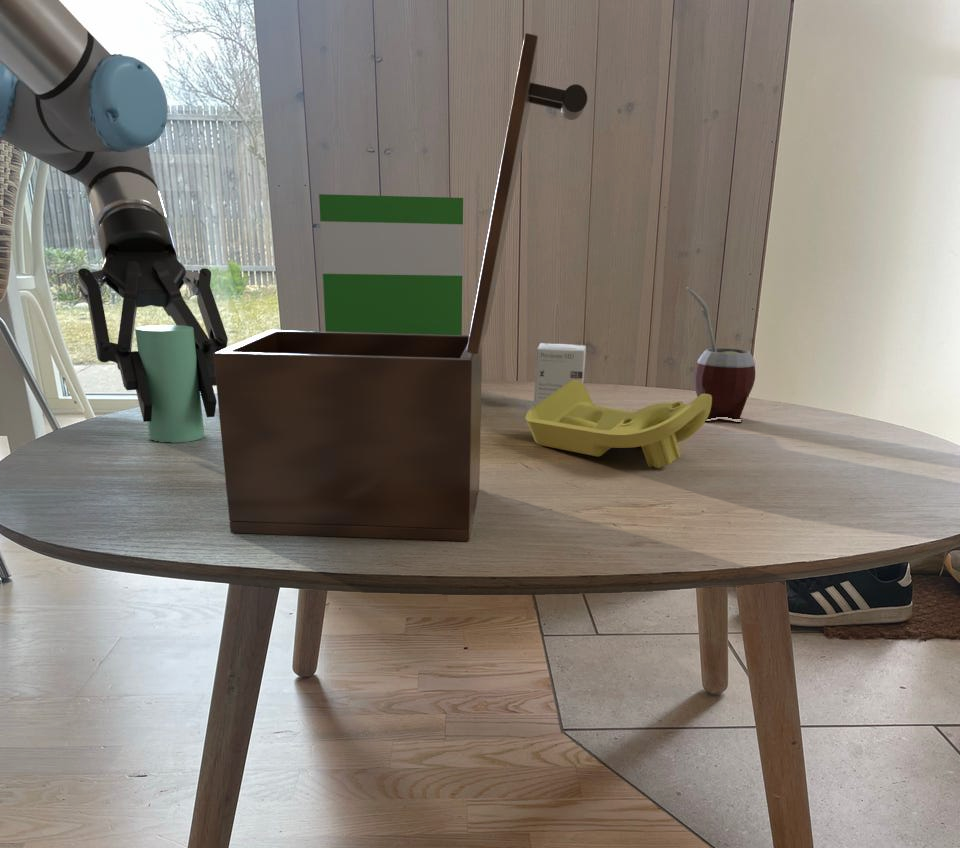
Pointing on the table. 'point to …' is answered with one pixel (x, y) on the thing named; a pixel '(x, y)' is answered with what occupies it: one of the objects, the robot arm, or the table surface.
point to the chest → (351, 434)
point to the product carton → (557, 368)
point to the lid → (515, 173)
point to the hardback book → (392, 264)
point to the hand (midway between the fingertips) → (180, 411)
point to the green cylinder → (171, 382)
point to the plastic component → (615, 424)
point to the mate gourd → (723, 374)
